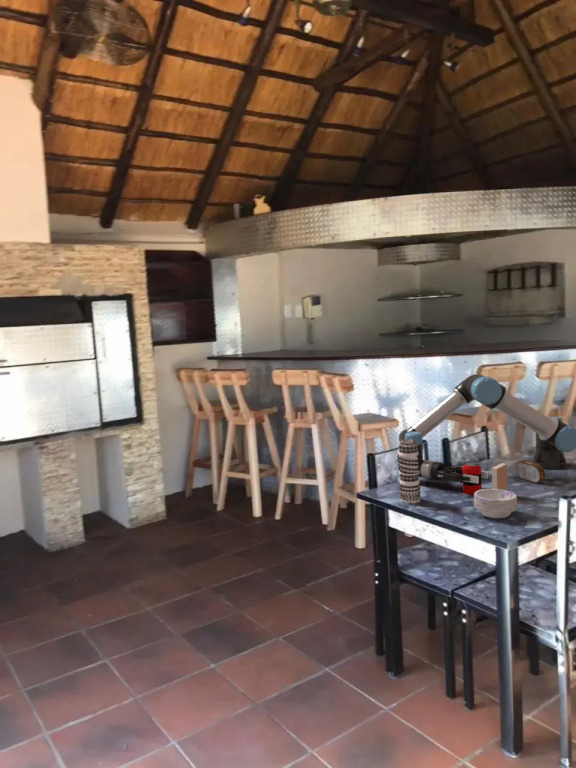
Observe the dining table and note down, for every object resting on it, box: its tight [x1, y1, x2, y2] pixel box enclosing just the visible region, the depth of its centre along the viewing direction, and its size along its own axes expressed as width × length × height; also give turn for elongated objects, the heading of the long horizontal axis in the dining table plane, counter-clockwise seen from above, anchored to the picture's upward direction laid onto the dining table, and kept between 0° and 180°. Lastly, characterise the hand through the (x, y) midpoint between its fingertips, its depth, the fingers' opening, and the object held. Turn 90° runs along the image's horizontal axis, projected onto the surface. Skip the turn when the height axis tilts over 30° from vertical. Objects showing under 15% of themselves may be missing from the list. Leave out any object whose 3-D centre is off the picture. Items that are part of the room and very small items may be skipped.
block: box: [491, 462, 508, 491], centre depth 246 cm, size 2×9×13 cm, turn 136°
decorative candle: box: [396, 439, 422, 504], centre depth 248 cm, size 9×9×25 cm
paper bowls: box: [473, 488, 518, 519], centre depth 227 cm, size 15×15×8 cm
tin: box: [515, 459, 546, 484], centre depth 266 cm, size 15×3×8 cm, turn 22°
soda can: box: [461, 462, 483, 496], centre depth 255 cm, size 8×8×12 cm
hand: (482, 477), depth 251 cm, fingers closed on soda can, 8 cm apart
